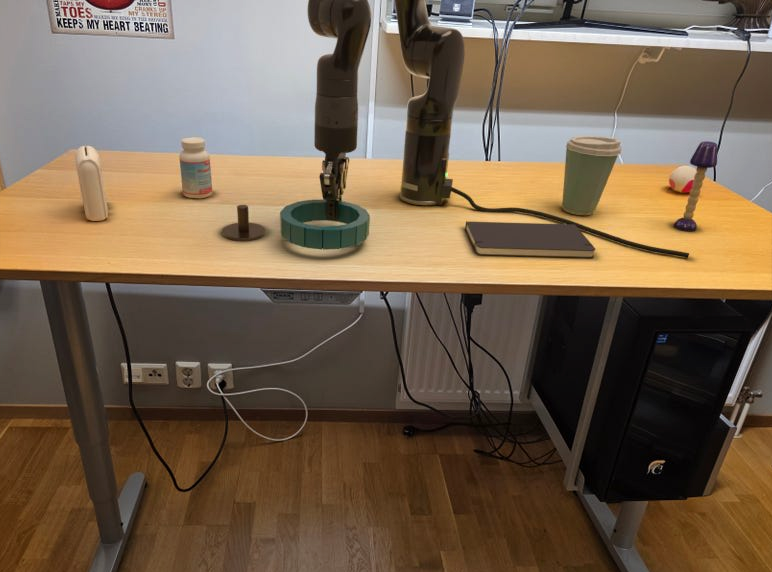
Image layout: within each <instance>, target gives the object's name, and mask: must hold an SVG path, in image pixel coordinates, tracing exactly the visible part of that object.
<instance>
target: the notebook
mask: <svg viewBox="0 0 772 572" xmlns="http://www.w3.org/2000/svg"><path fill="white" fill-rule="evenodd" d="M464 230H465V232H466V234H467V236H468V237H467V238H468V239H469V241H470V244H471V245H472V248H473V250H474V252H475V254H476V255H478V256H492V257H493V256H494V257H496V256H497V257H499V256H501V257H536V258H537V257H539V258H574V259H575V258H578V259H593V258H594V256H595V255H594V252H595V251H596V247H595V246H594V245H593V244H592V243H591V242H590V240H589V239H588V238H587V237H586V235H584V233H583V232H582V231H581V229H579V228H578V227H577V226H576V225H575V224H565V223H538V222H537V223H536V222H535V223H534V222H529V223H528V222H499V221H497V222H496V221H465V226H464Z"/></svg>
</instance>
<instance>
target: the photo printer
mask: <svg viewBox="0 0 772 572" xmlns="http://www.w3.org/2000/svg"><path fill="white" fill-rule="evenodd" d="M74 156H75V159H74V160H75V167H76V172H77V173H76V174H77V178H78V184H79V189H80V194H81V199H82V205H83V209H84V214H85V217H86V219H87V220H90V222H91V221H93V222H98V221H100V222H101V221H104V220H106V219H107V218H108V217H109V206H108V201H107V196H106V190H105V184H104V183H105V182H104V179H103V172H102V171H103V170H102V164H101V159H100V155H99V153H98V151H97V150H96V149H95V147H93V146H91V145H82V146H80V147H79V148H78V149H77V150H76V152H75V155H74Z"/></svg>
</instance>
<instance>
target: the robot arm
mask: <svg viewBox="0 0 772 572" xmlns="http://www.w3.org/2000/svg"><path fill="white" fill-rule="evenodd" d="M426 1H427V0H393V2H394V8H395V14H396V15H395V16H396V22H397V30H398V37H399V45H400V51H401V52H400V53H401V58H402V61H403V64H404V66H405V69H406V70H407V71H408V73H410V74H411V75H413V76H416V77H420V78H425V79H428V85H427V87H426V88H427V89H426V91H425V92H424V93H423V94H421V95H415V96H413V97H411V98H409V99H408V101H407V104H406V105H407V106H406V118H405V119H406V121H405V129H404V130H405V131H404V144H403V157H402V169H401V183H400V193H399V198H400V199H401V201H403V202H405V203H408V204H410V205H411V204H412V205H416V206H434V205H437V206H438V205H439V206H441V205H443V202H444V199H448V200H450V198H451V195H452V193H454V194H455V195H458V196H459V197H460V196H461V197H462V198H464V199H465V200H466V201H467V202H468V204H469V205H470V206H471V207H472V208H473V209H474V210H477V211H479V212H482V213H512V212H513V213H521V214H528V215H532V216H537V217H541V218H545V219H548V220H552V221H555V222H558V223H561V224H575V225H576V226H577V227H578V229H579V230H582V231H584V232H587V233H590V234H592V235H595V236H598V237H601V238H605V239H607V240H609V241H613V242H615V243H617V244H622V245H625V246H628V247H631V248H635V249H639V250H643V251H647V252H652V253H658V254H664V255H669V256H676V257H682V258H687V259H688V258H689V256H690V252H686V251H680V250H673V249H667V248H661V247H656V246H651V245H647V244H642V243H639V242H634V241H631V240H628V239H624V238H622V237H619V236H615V235H612V234H609V233H606V232H604V231H601V230H597V229H596V228H592V227H589V226H586V225H584V224H581V223H579V222H576V221H572V220H571V219H566V218H564V217H560V216H557V215H554V214H550V213H546V212H543V211H538V210H534V209H529V208H522V207H511V206H510V207H495V208H493V207H492V208H491V207H484V206H480V205H478V204H476V203H475V201H474V199H473V198H472V197H471V196H470V195H468V194H467V193H465V192H464V191H461V190H460V189H457V188H455V187H453V182H454V179H453V178H447V177H448V167H449V160H450V159H449V158H450V152H449V151H450V143H451V142H450V141H451V135H452V127H453V125H452V124H453V117H454V110H455V107H456V104H457V102H458V99H459V94H460V87H461V82H462V75H463V69H464V63H465V53H466V44H465V39H464V36H463V34H462V32H461V31H460V30H458V29H457V28H453V27H448V26H441V25H433V24H431V22H430V19H429V14H428V9H427V3H426ZM307 20H308V25H309V26H310V28H311V30H312V32H314V33H315V34H316V35H317V36H319V37H322V38H329V39H336V44H335V47H334V50H333V52H332V53H327V54H323V55H321V56H320V57H319V58H318V59H317V63H316V93H315V95H316V96H315V103H314V142H313V143H314V145H313V146H314V148H315V149H316V150H318V151H319V152H323V153H324V155H325V156H324V160H322V162H321V171H322V172H320V173H319V176H318V177H319V182H320V184H319V185H320V190H321V197H322V199H325V200H326V218H327V219H328V220H337V219H338V213H339V201H343V195H344V194H345V191H344V190H346V187H347V178H348V173H349V172H348V171H349V163H350V157H348V156H347V154H350V153H352V152H354V151H356V150H357V147H358V127H359V126H358V125H359V98H358V93H359V69H360V65H361V63H362V62H361V61H362V60H363V55H364V51H365V48H366V44H367V40H368V37H369V35H370V30H371V27H372V26H371V25H372V9H371V5H370V3H369V0H308V1H307Z"/></svg>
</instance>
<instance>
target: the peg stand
mask: <svg viewBox="0 0 772 572" xmlns="http://www.w3.org/2000/svg"><path fill="white" fill-rule="evenodd" d="M236 215H237V216H236V217H237V222H234V223H230V224H227V225H225V226H224V227H223V228H222V229H221V235H222V236H223V237H224V238H225V239H228V240H231V241H236V242H250V241H255V240H258V239H261V238H263V237H265V235H266V233H267V230H266V228H265V226H264V225H261V224H258V223H255V222H250V215H249V205H247V204H238V205H236Z"/></svg>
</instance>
